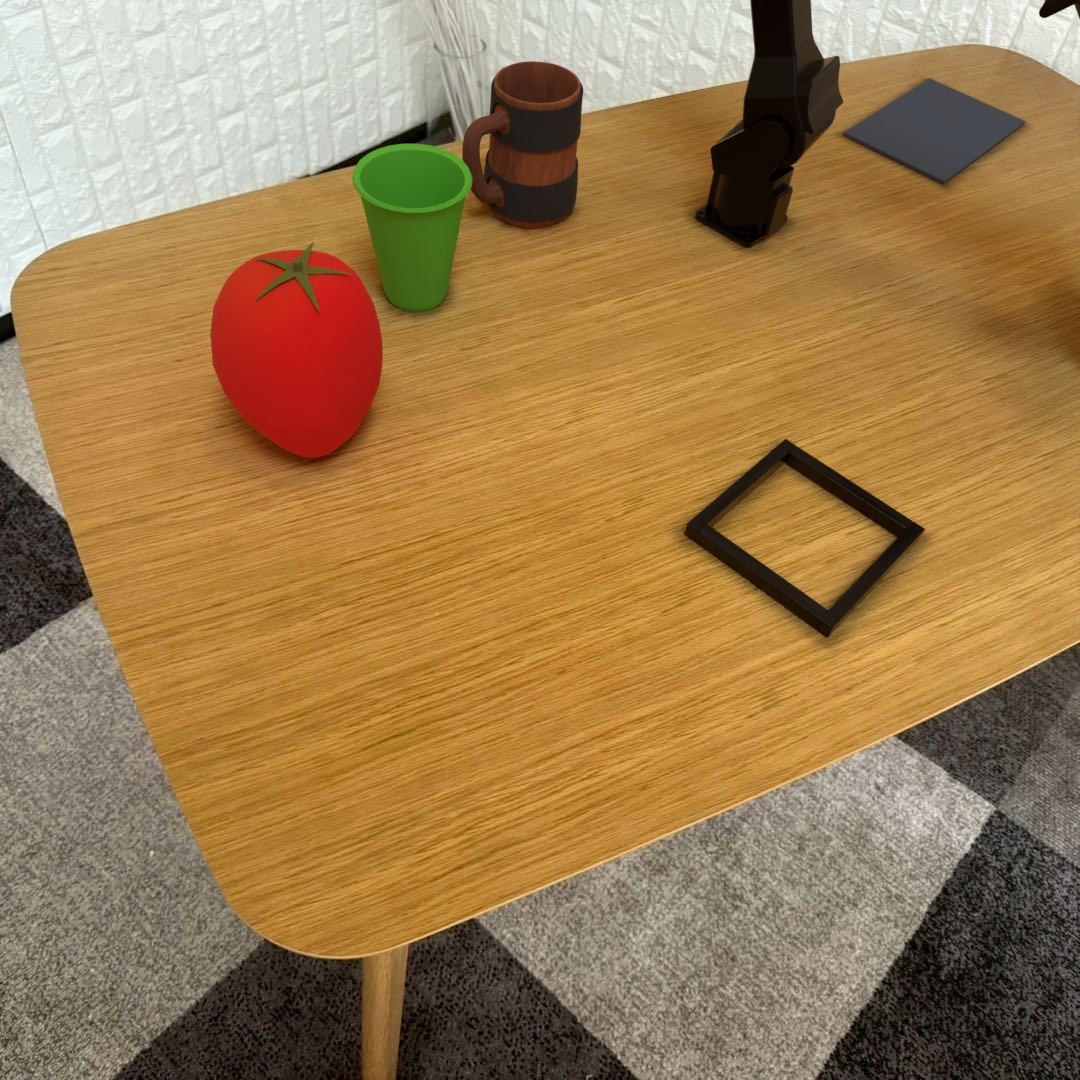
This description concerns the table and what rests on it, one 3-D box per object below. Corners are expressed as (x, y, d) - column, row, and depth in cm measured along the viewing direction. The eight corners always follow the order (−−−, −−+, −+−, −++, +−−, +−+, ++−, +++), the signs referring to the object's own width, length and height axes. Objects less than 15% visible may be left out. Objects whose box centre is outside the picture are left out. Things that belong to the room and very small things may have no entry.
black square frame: (683, 534, 71) (687, 523, 70) (781, 449, 77) (785, 438, 76) (827, 638, 66) (832, 627, 65) (919, 539, 72) (925, 528, 71)
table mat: (842, 135, 107) (844, 132, 106) (928, 81, 116) (929, 78, 115) (943, 184, 102) (945, 181, 102) (1024, 124, 111) (1025, 121, 111)
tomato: (395, 477, 72) (385, 320, 61) (230, 492, 70) (190, 332, 59) (379, 359, 80) (368, 200, 69) (230, 370, 78) (194, 208, 67)
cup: (386, 339, 82) (379, 220, 73) (345, 274, 86) (334, 155, 78) (487, 312, 85) (492, 194, 76) (443, 250, 89) (442, 133, 81)
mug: (434, 208, 93) (433, 84, 84) (535, 168, 99) (543, 48, 89) (492, 255, 89) (497, 131, 80) (594, 211, 95) (609, 90, 86)
